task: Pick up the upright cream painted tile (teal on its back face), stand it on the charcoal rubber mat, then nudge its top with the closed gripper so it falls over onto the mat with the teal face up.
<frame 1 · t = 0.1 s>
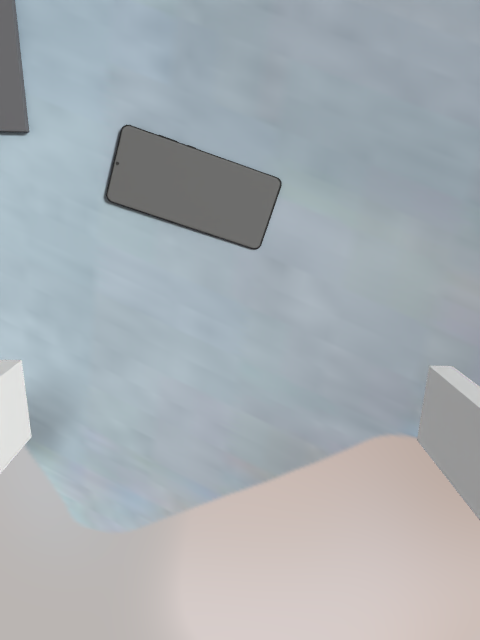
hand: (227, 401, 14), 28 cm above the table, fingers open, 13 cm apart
smartphone: (195, 189, 39), on the table
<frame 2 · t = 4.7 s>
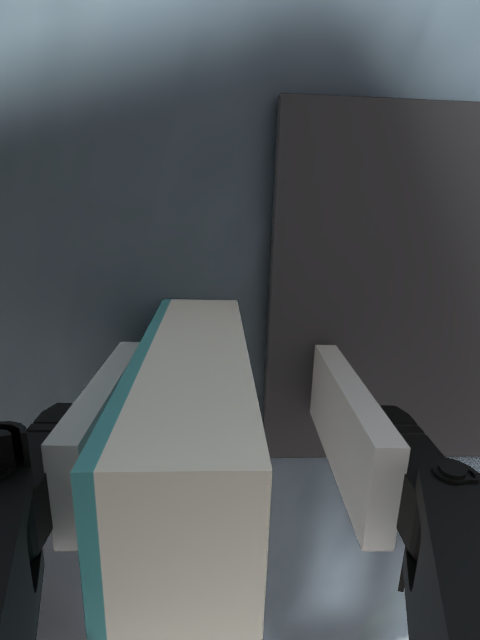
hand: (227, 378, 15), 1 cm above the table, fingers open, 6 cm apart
tile: (200, 369, 16), on the table
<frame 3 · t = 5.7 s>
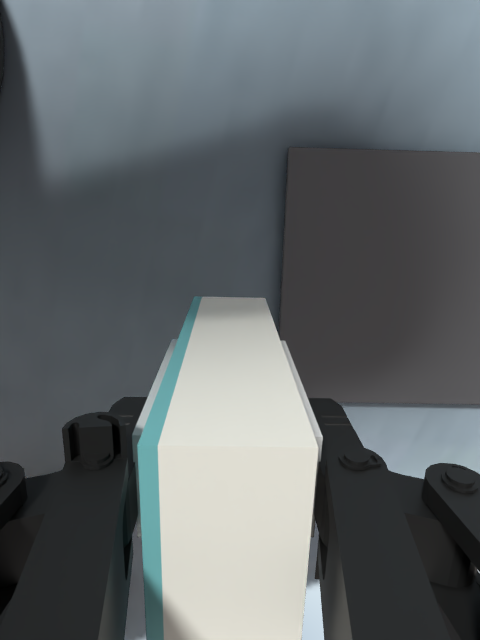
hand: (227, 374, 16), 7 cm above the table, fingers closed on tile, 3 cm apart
tile: (228, 364, 17), point 6 cm above the table, touching gripper
mat: (442, 285, 22), on the table
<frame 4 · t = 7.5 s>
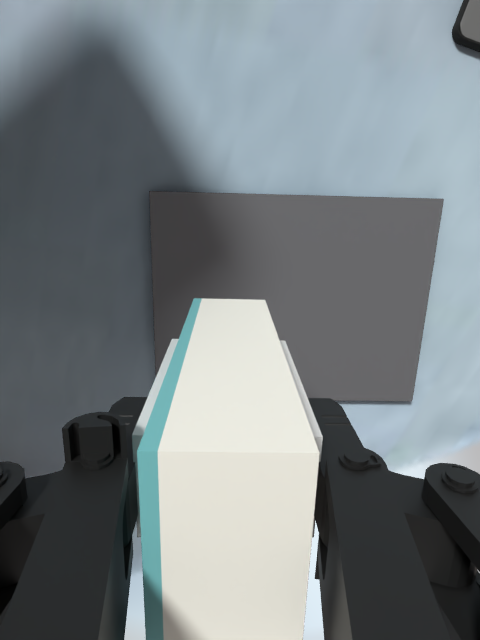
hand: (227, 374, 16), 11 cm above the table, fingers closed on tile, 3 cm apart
tile: (228, 366, 17), point 10 cm above the table, touching gripper
mat: (290, 302, 26), on the table
when the fingers open (1 cm above the table, at t = 9.7 s): tile stays where it is, resting on mat.
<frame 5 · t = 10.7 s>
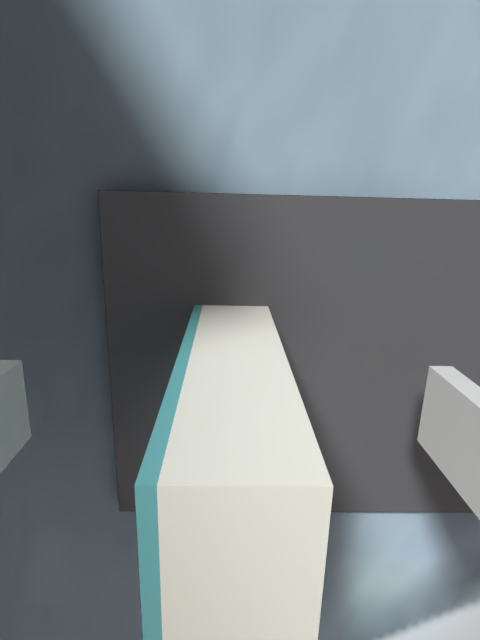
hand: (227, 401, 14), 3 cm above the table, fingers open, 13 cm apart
tile: (230, 374, 16), point 1 cm above the table, touching mat
mat: (327, 366, 17), on the table
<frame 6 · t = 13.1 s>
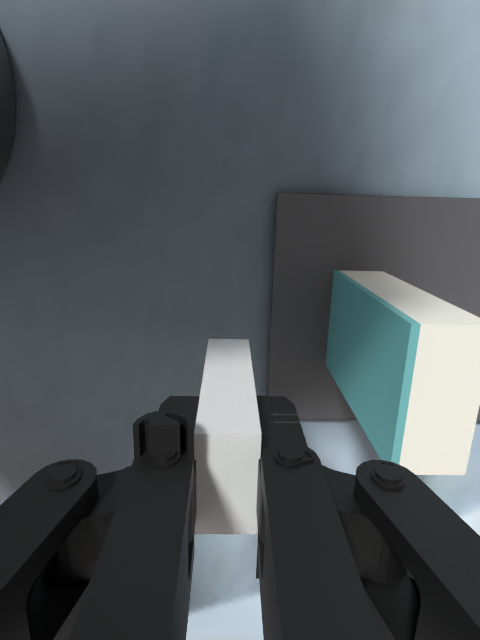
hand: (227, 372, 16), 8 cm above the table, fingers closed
tile: (353, 319, 23), point 1 cm above the table, touching mat
mat: (417, 314, 24), on the table
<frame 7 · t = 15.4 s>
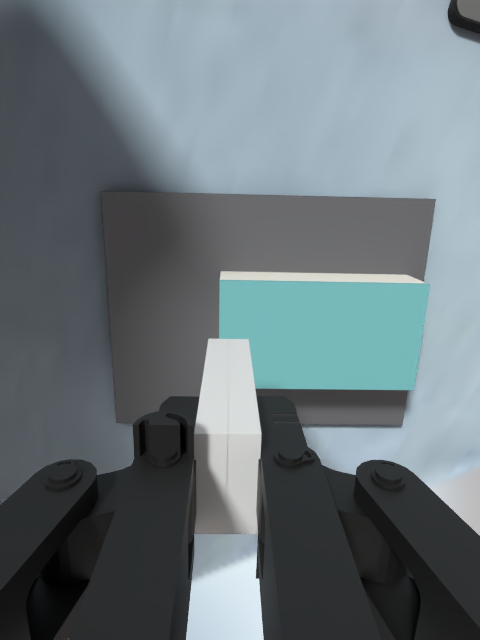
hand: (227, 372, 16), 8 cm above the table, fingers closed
tile: (219, 328, 22), point 2 cm above the table, tilted 90°, touching mat
mat: (264, 315, 23), on the table
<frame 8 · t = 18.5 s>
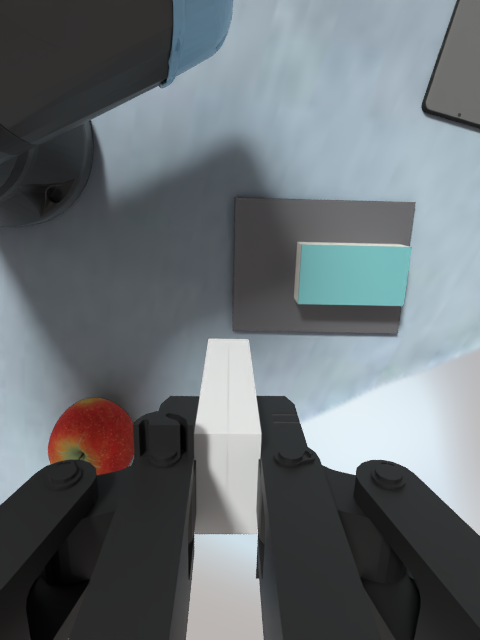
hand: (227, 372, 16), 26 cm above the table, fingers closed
apple: (107, 417, 46), on the table
tile: (297, 272, 39), point 2 cm above the table, tilted 90°, touching mat
mat: (319, 267, 41), on the table
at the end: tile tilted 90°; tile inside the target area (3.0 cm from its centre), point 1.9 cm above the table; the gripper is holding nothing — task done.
